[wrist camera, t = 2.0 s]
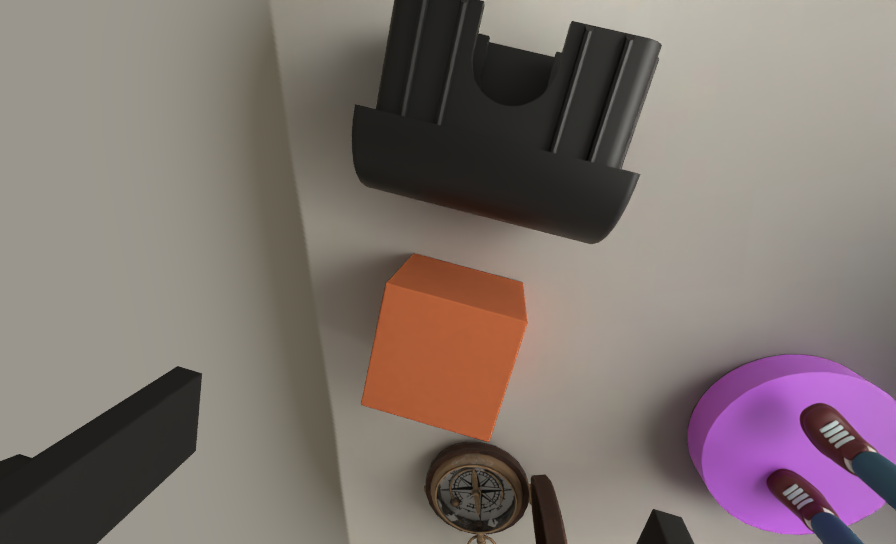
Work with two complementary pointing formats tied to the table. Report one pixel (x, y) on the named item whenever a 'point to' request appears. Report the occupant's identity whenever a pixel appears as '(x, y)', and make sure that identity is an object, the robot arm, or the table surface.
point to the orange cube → (445, 346)
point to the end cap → (505, 121)
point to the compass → (491, 493)
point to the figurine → (796, 446)
